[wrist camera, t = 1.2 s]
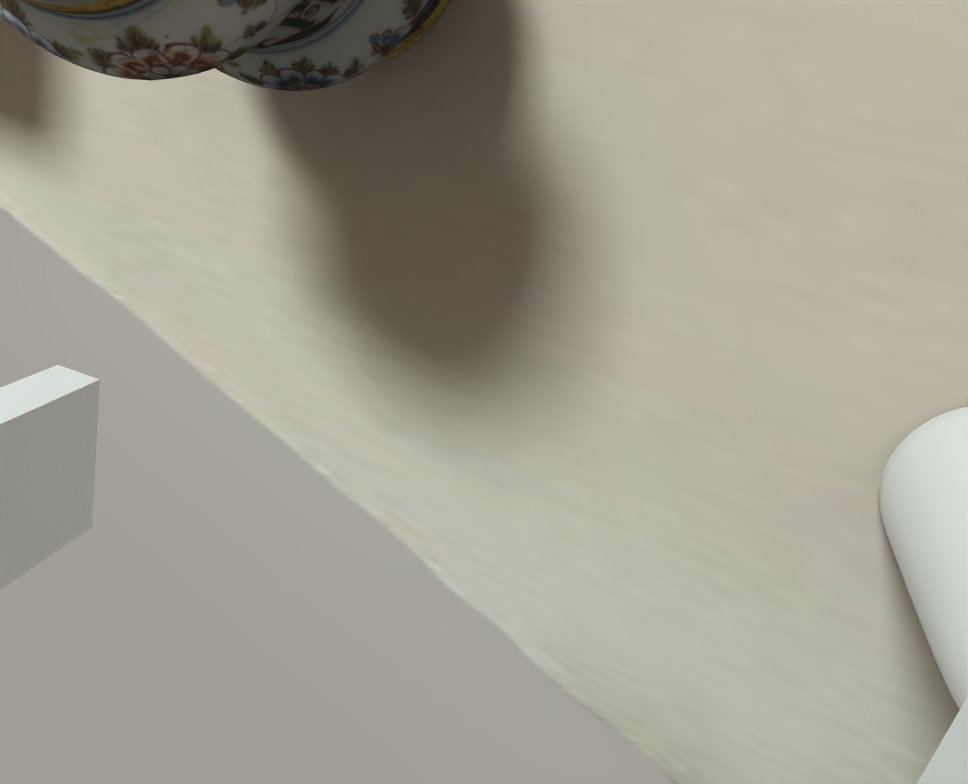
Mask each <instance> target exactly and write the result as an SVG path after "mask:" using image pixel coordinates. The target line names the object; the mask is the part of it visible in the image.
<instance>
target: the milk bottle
mask: <svg viewBox="0 0 968 784" xmlns="http://www.w3.org/2000/svg"><path fill="white" fill-rule="evenodd" d="M879 507H880V513H881V517H882V520H883V524H884V527H885V530H886V533H887V536H888V538H889V541H890V544H891V547H892V549H893V552H894V555H895V557H896V560H897V563H898V565H899V568H900V571H901V573H902V576H903V579H904V581H905V584H906V586H907V589H908V592H909V594H910V597H911V600H912V602H913V605H914V607H915V610H916V612H917V615H918V617H919V620H920V622H921V625H922V627H923V630H924V633H925V635H926V638H927V640H928V643H929V645H930V648H931V650H932V653H933V655H934V658H935V660H936V662H937V665H938V667H939V669H940V671H941V673H942V676H943V678H944V680H945V682H946V684H947V687H948V689H949V691H950V693H951V695H952V697H953V699H954V701H955V703H956V704H957V706H958V708H959V709H961V707H962V705H963V704H964V702H965V700H966V698H967V697H968V407H964V408H959V409H956V410H952V411H949V412H946V413H944V414H941V415H938V416H936V417H935V418H933V419H931V420H929V421H927V422H925V423H924V424H922V425H920V426H919V427H918V428H917V429H915V430H914V431H913V432H911V433H910V434H909V435H908V436H907V437H906V438H905V439H904V440H903V441H902V442H901V443H900V444H899V445H898V446H897V448H896V449H895V450H894V452H893V453H892V455H891V456H890V458H889V460H888V462H887V464H886V466H885V468H884V471H883V474H882V477H881V481H880V486H879Z"/></svg>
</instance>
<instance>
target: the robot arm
mask: <svg viewBox="0 0 968 784" xmlns="http://www.w3.org/2000/svg"><path fill="white" fill-rule="evenodd" d="M98 397H99V379H96V378H93V377H90V376H87V375H85V374H82V373H79V372H76V371H73V370H71V369H68V368H65V367H61V366H59V365H57V366H54V367H51V368H49V369H46V370H44V371H41V372H39V373H36V374H34V375H31V376H29V377H26V378H24V379H21V380H19V381H16V382H14V383H11V384H9V385H6V386H4V387H1V388H0V589H1V588H3V587H4V586H6V585H7V584H9V583H10V582H12V581H13V580H15V579H16V578H18V577H19V576H21V575H22V574H23V573H25V572H27V571H28V570H30V569H31V568H33V567H34V566H36V565H37V564H39V563H40V562H41V561H43V560H45V559H46V558H47V557H49V556H51V555H52V554H53V553H55V552H56V551H58V550H59V549H61V548H62V547H64V546H65V545H67V544H68V543H70V542H71V541H73V540H74V539H76V538H77V537H79V536H80V535H82V534H83V533H85V532H86V531H88V530H89V529H91V528H92V514H93V495H94V476H95V475H94V474H95V456H96V436H97V418H98V399H99V398H98ZM917 784H968V697H967V698H966V700H965V702H964V704H963V705H962V707H961V709H960V710H959V712H958V714H957V716H956V717H955V719H954V721H953V722H952V724H951V726H950V728H949V729H948V731H947V733H946V734H945V736H944V738H943V740H942V741H941V743H940V745H939V747H938V748H937V750H936V752H935V753H934V755H933V757H932V759H931V760H930V762H929V764H928V765H927V767H926V769H925V771H924V772H923V774H922V776H921V777H920V779H919V781H918V783H917Z"/></svg>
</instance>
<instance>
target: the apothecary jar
mask: <svg viewBox="0 0 968 784" xmlns="http://www.w3.org/2000/svg"><path fill="white" fill-rule="evenodd" d="M448 2H449V0H0V15H1V16H2V17H3V18H4V19H5V20H6V21H7V22H8V23H10V24H11V25H12V26H13V27H15V28H16V29H17V30H18V31H20V32H21V33H22V34H24V35H25V36H26V37H27V38H29V39H30V40H31V41H32V42H34V43H36V44H38V45H39V46H41V47H43V48H44V49H46V50H47V51H49V52H51V53H53V54H54V55H56V56H58V57H60V58H62V59H65V60H67V61H69V62H71V63H74V64H76V65H78V66H81V67H84V68H86V69H89V70H92V71H96V72H99V73H103V74H106V75H110V76H115V77H120V78H127V79H140V80H160V79H170V78H177V77H183V76H188V75H193V74H198V73H201V72H204V71H207V70H210V69H213V68H215V69H217V70H219V71H221V72H223V73H225V74H227V75H229V76H231V77H233V78H236V79H238V80H241V81H243V82H246V83H249V84H253V85H256V86H260V87H265V88H270V89H276V90H287V91H302V90H312V89H319V88H324V87H328V86H331V85H335V84H338V83H340V82H343V81H346V80H348V79H350V78H352V77H355V76H356V75H358V74H360V73H362V72H364V71H365V70H367V69H369V68H370V67H371V66H373V65H374V64H376V63H377V62H380V61H383V60H386V59H388V58H391V57H393V56H395V55H397V54H399V53H401V52H402V51H404V50H406V49H407V48H409V47H410V46H412V45H413V44H414V43H416V42H417V41H418V40H420V39H421V38H422V37H423V36H424V34H425V33H426V32H427V31H428V30H429V29H430V28H431V27H432V26H433V24H434V23H435V22H436V21H437V19H438V18H439V17H440V15H441V14H442V12H443V10H444V9H445V7H446V6H447V4H448Z"/></svg>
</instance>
